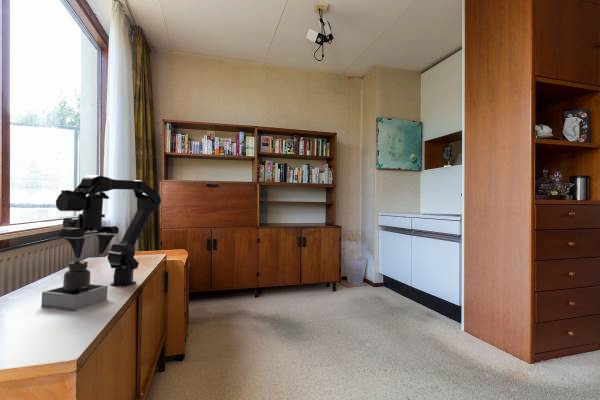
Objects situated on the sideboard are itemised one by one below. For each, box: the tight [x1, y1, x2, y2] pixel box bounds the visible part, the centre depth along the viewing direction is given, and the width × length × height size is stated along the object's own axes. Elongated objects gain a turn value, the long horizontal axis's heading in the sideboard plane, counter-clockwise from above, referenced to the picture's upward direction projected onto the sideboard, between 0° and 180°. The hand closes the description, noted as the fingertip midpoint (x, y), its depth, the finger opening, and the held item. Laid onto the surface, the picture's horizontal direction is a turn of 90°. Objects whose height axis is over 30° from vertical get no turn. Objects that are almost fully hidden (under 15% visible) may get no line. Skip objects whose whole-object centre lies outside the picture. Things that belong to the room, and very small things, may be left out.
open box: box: [40, 283, 108, 312], centre depth 94 cm, size 12×12×4 cm
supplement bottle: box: [62, 260, 91, 295], centre depth 95 cm, size 7×7×12 cm
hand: (89, 256), depth 104 cm, fingers open, 9 cm apart
